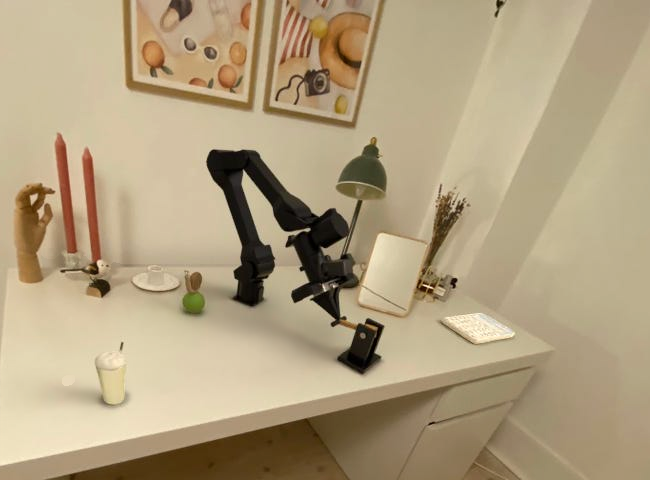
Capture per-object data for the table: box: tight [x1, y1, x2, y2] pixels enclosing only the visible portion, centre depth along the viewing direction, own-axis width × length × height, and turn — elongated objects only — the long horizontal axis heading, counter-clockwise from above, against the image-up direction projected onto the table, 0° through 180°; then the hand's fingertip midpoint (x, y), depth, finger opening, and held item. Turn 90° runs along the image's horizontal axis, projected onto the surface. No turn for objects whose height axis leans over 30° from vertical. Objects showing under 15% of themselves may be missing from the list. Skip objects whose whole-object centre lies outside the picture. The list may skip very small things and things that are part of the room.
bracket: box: [337, 317, 385, 375], centre depth 86 cm, size 7×9×10 cm
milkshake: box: [94, 341, 127, 406], centre depth 62 cm, size 4×5×10 cm
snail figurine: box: [181, 269, 206, 314], centre depth 90 cm, size 5×6×12 cm
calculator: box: [441, 312, 516, 345], centre depth 116 cm, size 13×20×2 cm, turn 118°
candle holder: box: [132, 264, 181, 292], centre depth 102 cm, size 12×12×4 cm
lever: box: [330, 315, 378, 337], centre depth 87 cm, size 10×6×2 cm, turn 51°
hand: (338, 318), depth 89 cm, fingers closed, pressing on lever
